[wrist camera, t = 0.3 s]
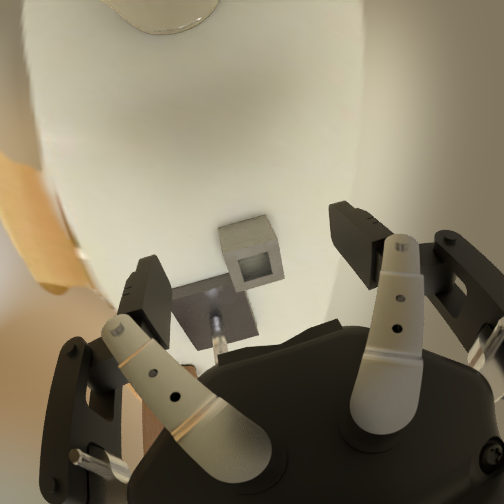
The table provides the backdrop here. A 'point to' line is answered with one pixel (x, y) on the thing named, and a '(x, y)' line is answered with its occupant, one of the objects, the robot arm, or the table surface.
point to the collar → (251, 253)
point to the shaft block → (213, 313)
